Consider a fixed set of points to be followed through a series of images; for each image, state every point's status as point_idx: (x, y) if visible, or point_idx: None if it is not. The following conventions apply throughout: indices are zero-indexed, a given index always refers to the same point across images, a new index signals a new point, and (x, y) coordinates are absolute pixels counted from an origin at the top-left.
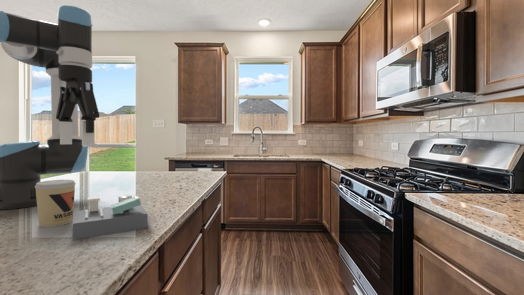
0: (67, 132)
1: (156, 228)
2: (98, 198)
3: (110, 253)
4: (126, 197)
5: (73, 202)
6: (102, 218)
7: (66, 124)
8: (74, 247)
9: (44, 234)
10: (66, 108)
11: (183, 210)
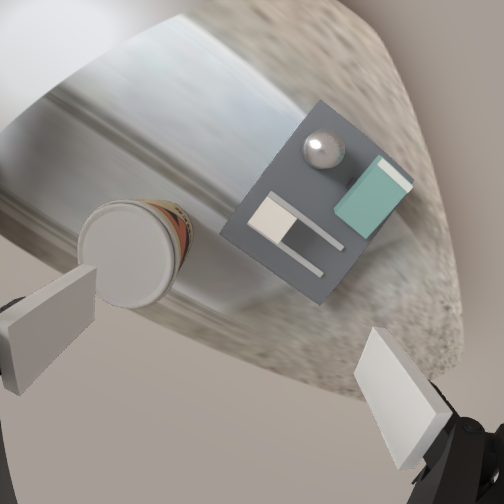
0: (57, 318)
1: (417, 176)
2: (294, 221)
3: (421, 304)
4: (337, 154)
5: (174, 213)
6: (349, 253)
7: (26, 352)
8: (349, 313)
9: (225, 294)
10: (8, 485)
11: (374, 33)
